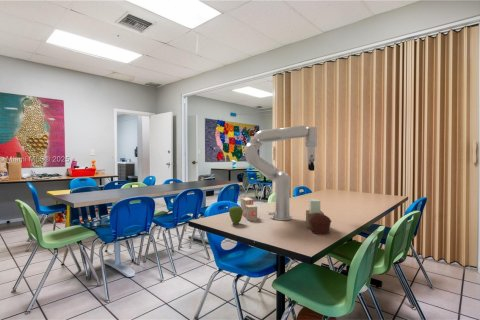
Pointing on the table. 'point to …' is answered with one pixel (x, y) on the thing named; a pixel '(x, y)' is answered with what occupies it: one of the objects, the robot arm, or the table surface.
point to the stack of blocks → (249, 209)
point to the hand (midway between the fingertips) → (311, 170)
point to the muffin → (320, 224)
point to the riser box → (308, 217)
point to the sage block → (314, 206)
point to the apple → (236, 214)
